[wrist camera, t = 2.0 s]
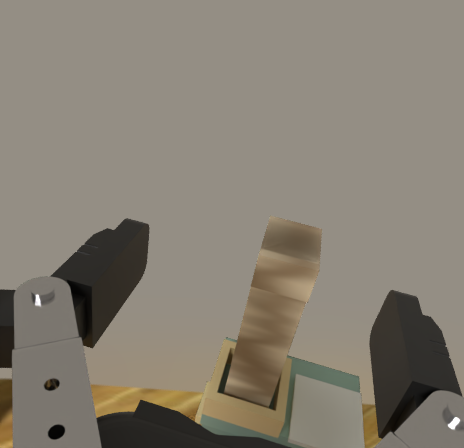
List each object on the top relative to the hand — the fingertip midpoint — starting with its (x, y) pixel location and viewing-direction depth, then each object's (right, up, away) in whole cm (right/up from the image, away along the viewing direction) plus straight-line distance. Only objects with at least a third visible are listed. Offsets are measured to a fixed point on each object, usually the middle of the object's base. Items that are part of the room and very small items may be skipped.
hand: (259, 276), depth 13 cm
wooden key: (0, -12, +20) cm, 23 cm away
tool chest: (+1, -24, +27) cm, 36 cm away
